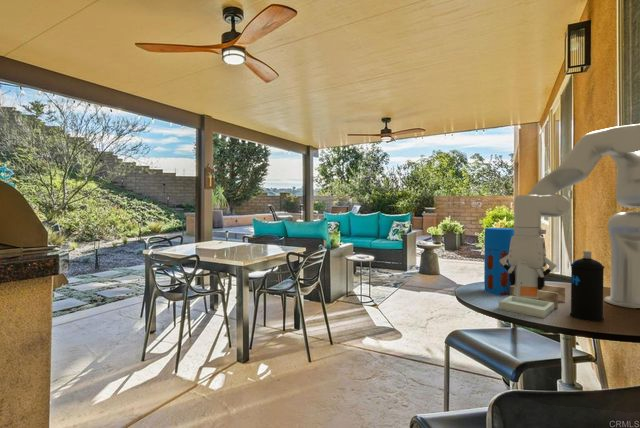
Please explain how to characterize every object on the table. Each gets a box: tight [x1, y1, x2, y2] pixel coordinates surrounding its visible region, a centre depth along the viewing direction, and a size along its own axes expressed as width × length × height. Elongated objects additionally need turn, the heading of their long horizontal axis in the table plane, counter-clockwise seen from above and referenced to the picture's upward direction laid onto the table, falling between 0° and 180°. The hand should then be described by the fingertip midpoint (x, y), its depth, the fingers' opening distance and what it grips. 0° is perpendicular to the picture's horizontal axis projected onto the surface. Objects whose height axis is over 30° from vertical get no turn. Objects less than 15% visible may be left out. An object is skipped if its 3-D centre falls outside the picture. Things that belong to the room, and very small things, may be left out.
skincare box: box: [514, 260, 539, 299], centre depth 113 cm, size 6×4×12 cm
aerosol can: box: [569, 250, 606, 323], centre depth 104 cm, size 8×8×20 cm
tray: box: [498, 295, 555, 319], centre depth 113 cm, size 13×12×2 cm
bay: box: [508, 284, 566, 309], centre depth 123 cm, size 14×12×5 cm
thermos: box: [483, 227, 514, 296], centre depth 135 cm, size 11×11×25 cm
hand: (526, 286), depth 113 cm, fingers closed on skincare box, 7 cm apart
